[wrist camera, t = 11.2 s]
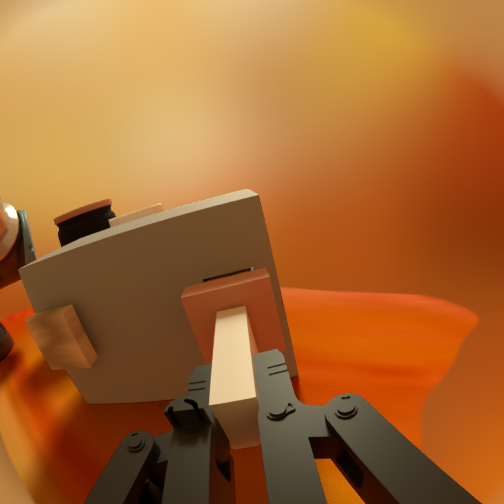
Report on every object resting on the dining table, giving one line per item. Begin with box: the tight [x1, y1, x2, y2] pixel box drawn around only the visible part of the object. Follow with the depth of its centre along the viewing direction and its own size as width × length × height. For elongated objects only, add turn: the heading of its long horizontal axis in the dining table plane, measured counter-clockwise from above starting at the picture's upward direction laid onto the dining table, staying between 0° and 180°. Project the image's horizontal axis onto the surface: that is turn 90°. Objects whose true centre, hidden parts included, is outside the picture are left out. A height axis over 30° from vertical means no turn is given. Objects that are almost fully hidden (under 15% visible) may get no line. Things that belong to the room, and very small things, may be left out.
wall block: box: [18, 189, 298, 404], centre depth 24 cm, size 20×12×14 cm, turn 95°
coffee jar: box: [54, 199, 116, 247], centre depth 41 cm, size 11×11×18 cm
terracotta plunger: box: [181, 267, 286, 365], centre depth 20 cm, size 5×12×5 cm, turn 5°
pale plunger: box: [26, 305, 98, 370], centre depth 22 cm, size 5×12×5 cm, turn 5°
